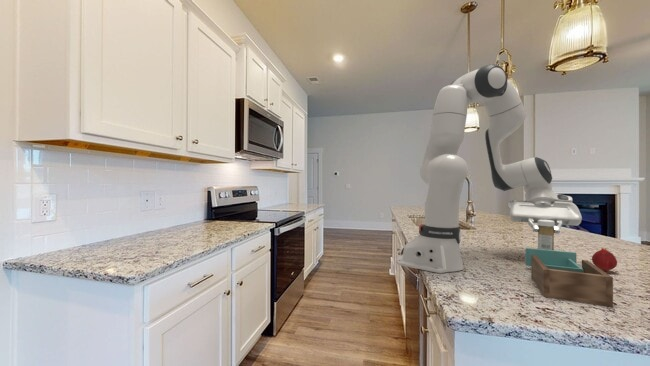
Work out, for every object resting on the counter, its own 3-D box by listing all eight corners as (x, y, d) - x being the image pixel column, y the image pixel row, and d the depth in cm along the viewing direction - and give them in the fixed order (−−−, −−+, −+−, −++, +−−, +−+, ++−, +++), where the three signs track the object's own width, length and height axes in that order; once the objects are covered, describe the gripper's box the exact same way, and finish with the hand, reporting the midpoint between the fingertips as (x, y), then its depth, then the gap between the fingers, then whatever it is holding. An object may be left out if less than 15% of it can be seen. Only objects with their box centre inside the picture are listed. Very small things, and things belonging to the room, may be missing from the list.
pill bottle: (556, 259, 94) (556, 220, 94) (551, 261, 92) (551, 221, 92) (540, 256, 98) (540, 218, 98) (534, 258, 95) (535, 219, 95)
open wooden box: (543, 296, 71) (543, 269, 71) (531, 277, 85) (531, 254, 85) (613, 307, 64) (612, 277, 64) (587, 284, 79) (587, 260, 79)
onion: (622, 274, 87) (622, 249, 87) (604, 274, 87) (604, 249, 87) (604, 268, 93) (604, 245, 93) (587, 268, 93) (587, 245, 93)
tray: (533, 276, 82) (533, 257, 82) (525, 264, 94) (525, 247, 94) (591, 284, 76) (591, 263, 76) (575, 270, 88) (575, 252, 88)
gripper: (508, 195, 106) (511, 223, 97) (577, 197, 96) (587, 228, 87) (506, 205, 110) (509, 233, 101) (573, 208, 100) (582, 240, 91)
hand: (546, 231), depth 94 cm, fingers closed on pill bottle, 4 cm apart
